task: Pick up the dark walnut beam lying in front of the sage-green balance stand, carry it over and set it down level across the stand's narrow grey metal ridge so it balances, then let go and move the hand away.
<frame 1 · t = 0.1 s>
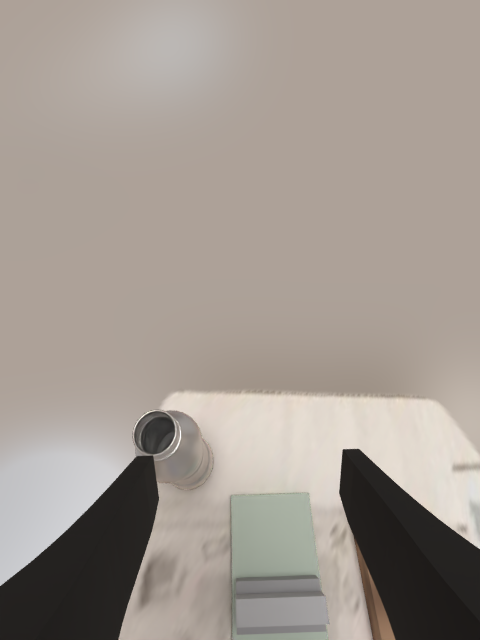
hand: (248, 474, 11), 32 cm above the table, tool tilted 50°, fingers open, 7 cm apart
plastic bottle: (191, 463, 40), on the table
balance stand: (276, 598, 32), on the table
walnut beam: (376, 593, 33), on the table
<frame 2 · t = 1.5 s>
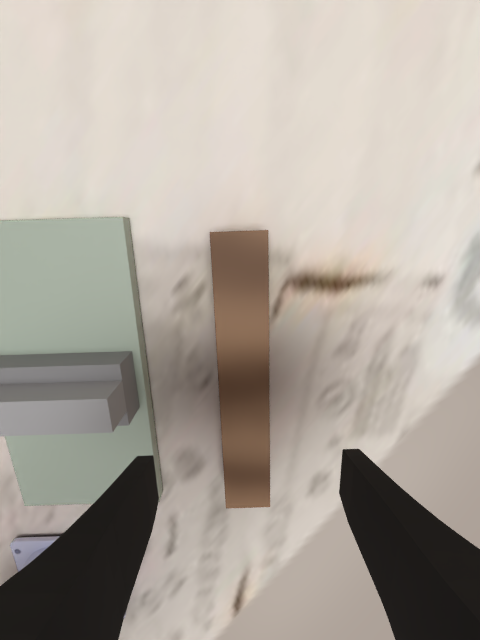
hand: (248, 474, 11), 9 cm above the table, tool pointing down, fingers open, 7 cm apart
balance stand: (75, 375, 20), on the table
walnut beam: (243, 367, 20), on the table
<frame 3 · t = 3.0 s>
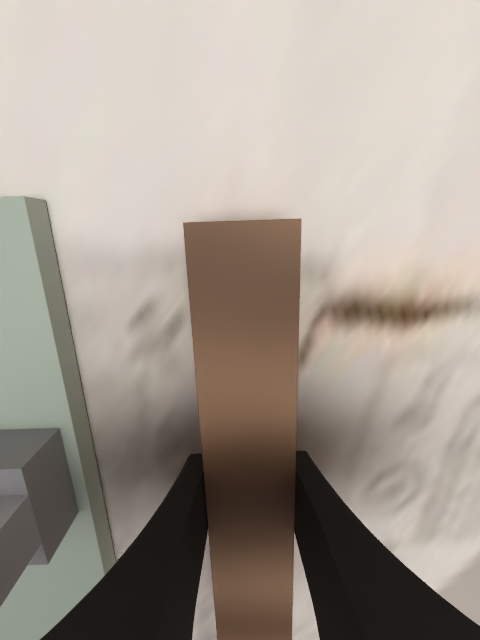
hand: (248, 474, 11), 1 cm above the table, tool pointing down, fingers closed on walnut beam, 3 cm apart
walnut beam: (247, 441, 13), on the table, touching gripper
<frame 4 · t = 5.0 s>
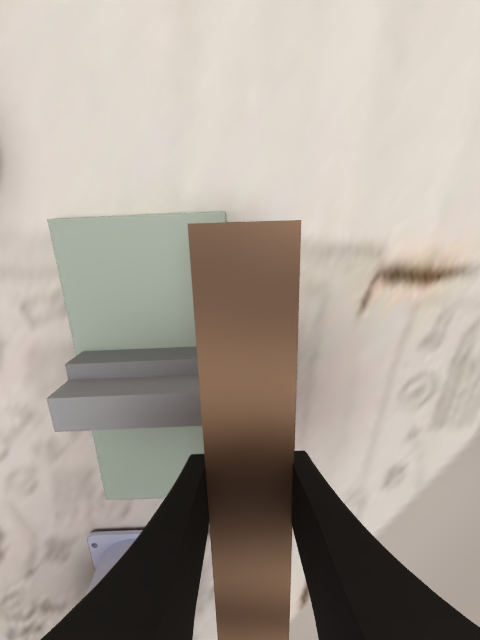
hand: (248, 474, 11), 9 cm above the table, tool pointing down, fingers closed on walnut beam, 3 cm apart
balance stand: (161, 370, 20), on the table
walnut beam: (247, 436, 13), point 7 cm above the table, touching gripper
when the fingers open (7 cm above the table, at t = 6.5 s): walnut beam stays where it is, resting on balance stand.
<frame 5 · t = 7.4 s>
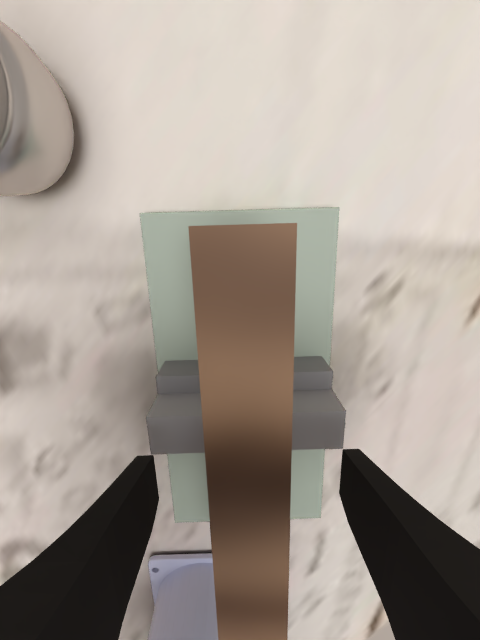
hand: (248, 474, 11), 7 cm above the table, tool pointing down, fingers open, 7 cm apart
plastic bottle: (28, 133, 14), on the table
balance stand: (243, 381, 18), on the table
walnut beam: (246, 433, 13), point 5 cm above the table, touching balance stand
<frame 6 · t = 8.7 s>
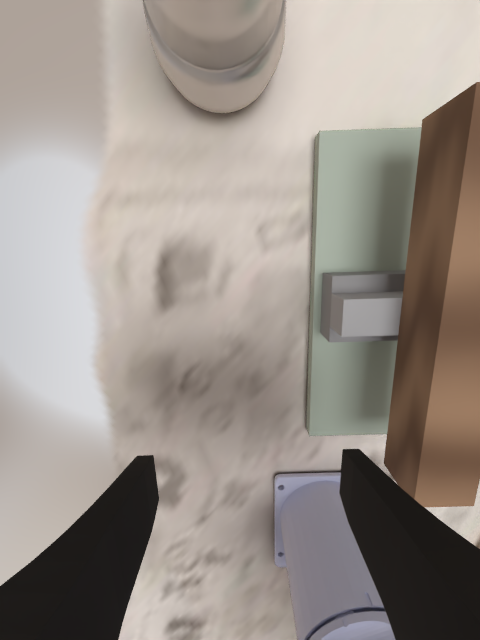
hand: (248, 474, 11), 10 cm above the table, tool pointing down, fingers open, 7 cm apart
plastic bottle: (220, 63, 17), on the table
balance stand: (382, 298, 20), on the table
walnut beam: (429, 316, 15), point 5 cm above the table, touching balance stand
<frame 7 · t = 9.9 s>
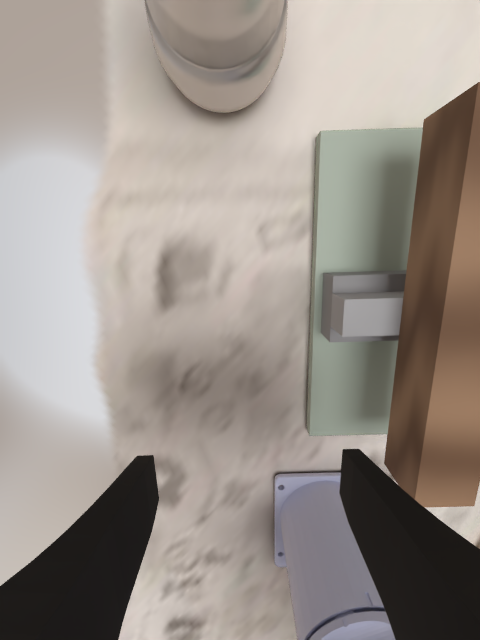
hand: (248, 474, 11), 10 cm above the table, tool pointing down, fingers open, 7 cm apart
plastic bottle: (222, 63, 17), on the table
balance stand: (383, 298, 20), on the table
walnut beam: (430, 316, 15), point 5 cm above the table, touching balance stand
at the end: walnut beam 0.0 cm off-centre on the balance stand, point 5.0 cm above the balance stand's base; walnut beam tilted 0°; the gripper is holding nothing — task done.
